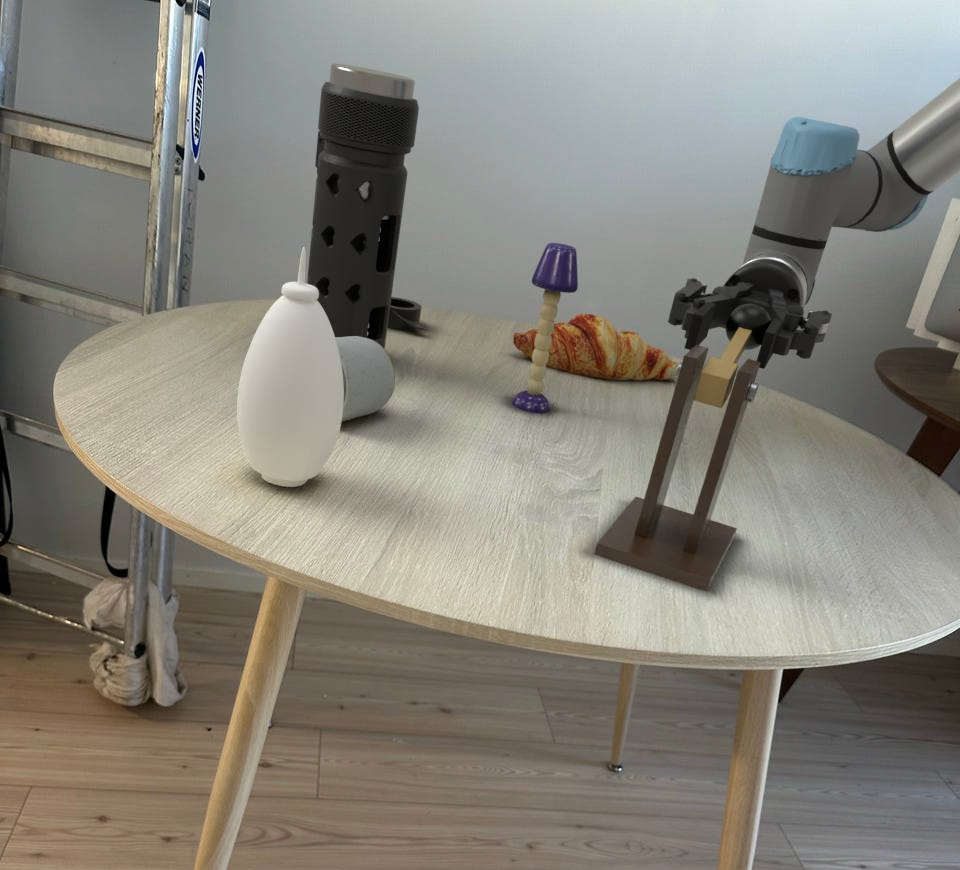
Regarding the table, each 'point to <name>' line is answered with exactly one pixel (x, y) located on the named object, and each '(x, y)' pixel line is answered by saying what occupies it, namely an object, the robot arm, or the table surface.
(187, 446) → the table surface
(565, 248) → the toy lamp
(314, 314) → the air blower bulb
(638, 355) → the croissant
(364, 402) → the ceramic mug
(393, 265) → the water bottle
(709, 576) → the stand
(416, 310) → the duct tape
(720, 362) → the lever
